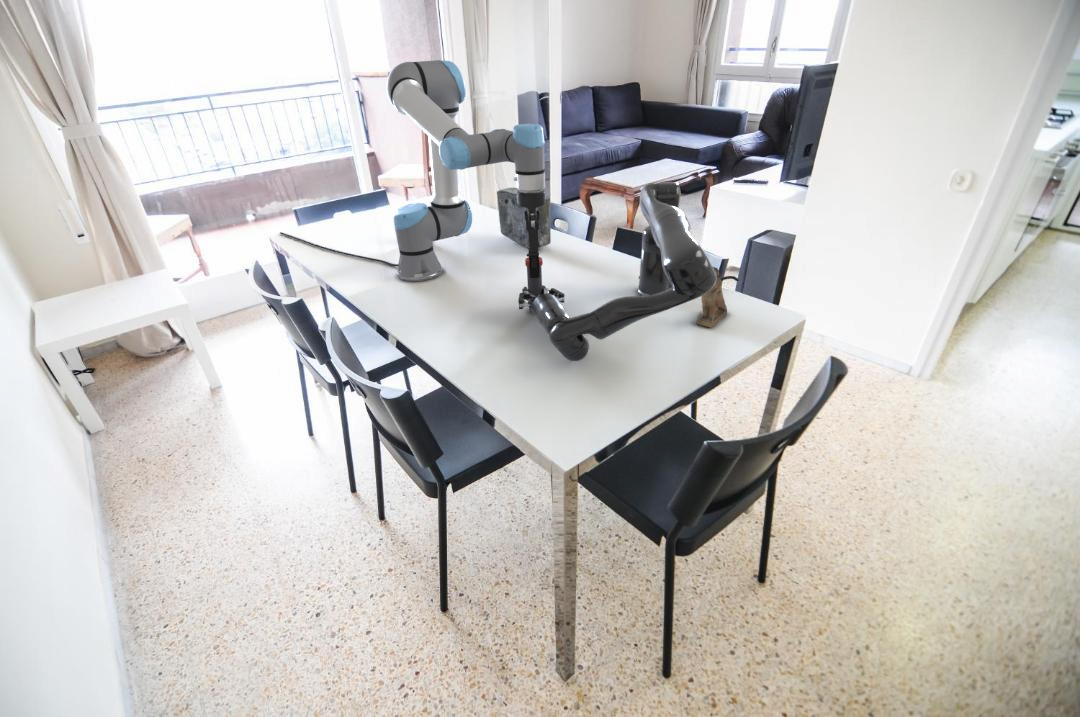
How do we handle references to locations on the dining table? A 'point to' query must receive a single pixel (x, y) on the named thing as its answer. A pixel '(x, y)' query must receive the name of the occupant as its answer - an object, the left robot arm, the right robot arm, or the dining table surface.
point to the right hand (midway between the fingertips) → (532, 288)
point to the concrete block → (521, 218)
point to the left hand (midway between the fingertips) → (534, 273)
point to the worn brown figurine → (713, 305)
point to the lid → (528, 261)
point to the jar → (534, 284)
